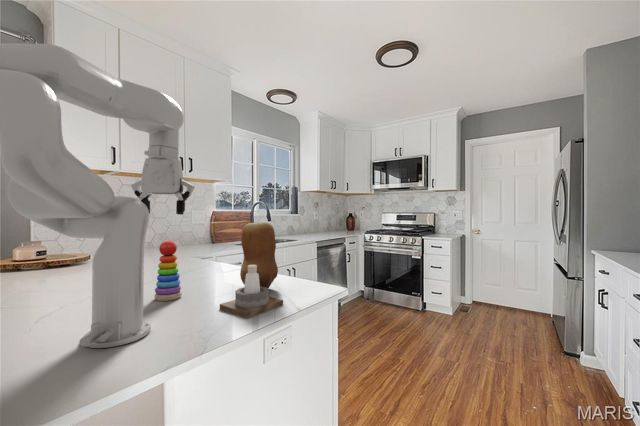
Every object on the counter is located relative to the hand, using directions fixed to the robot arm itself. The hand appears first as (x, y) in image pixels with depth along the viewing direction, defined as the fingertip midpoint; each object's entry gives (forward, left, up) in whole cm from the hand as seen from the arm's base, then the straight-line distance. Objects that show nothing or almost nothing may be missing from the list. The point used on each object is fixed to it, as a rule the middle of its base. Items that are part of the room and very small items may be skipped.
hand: (162, 214), depth 82 cm
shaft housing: (-1, -26, -28) cm, 38 cm away
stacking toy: (+11, +2, -28) cm, 30 cm away
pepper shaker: (-1, -26, -26) cm, 37 cm away
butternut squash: (+17, -26, -28) cm, 42 cm away
